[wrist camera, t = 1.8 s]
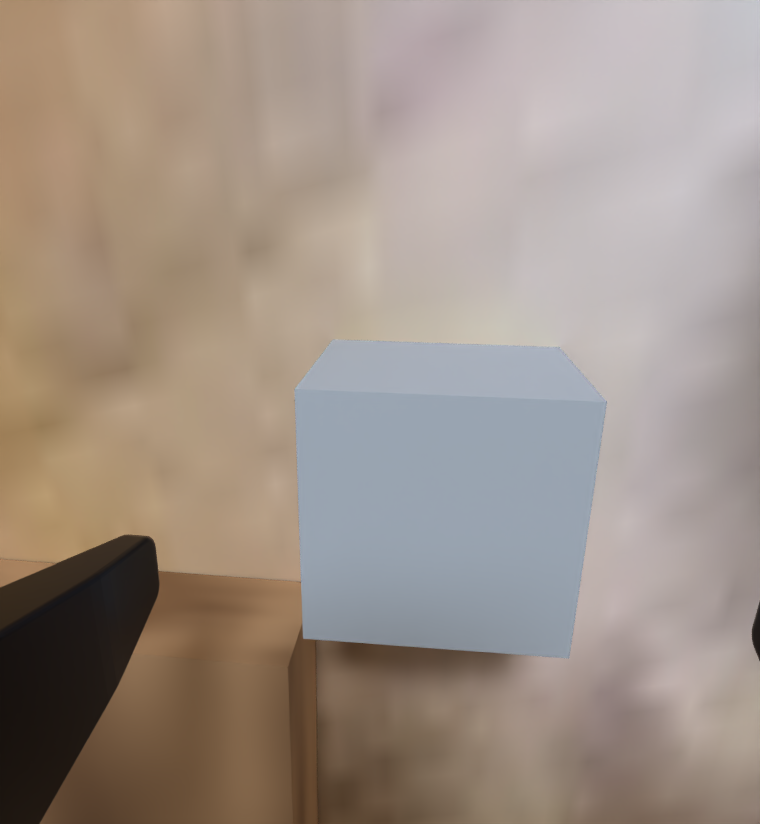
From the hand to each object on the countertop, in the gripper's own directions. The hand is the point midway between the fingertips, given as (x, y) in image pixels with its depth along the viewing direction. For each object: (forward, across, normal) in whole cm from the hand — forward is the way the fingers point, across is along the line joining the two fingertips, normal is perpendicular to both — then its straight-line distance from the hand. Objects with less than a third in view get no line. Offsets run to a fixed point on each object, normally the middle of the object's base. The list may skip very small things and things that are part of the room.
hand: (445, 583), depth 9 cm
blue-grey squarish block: (+6, 0, 0) cm, 6 cm away
